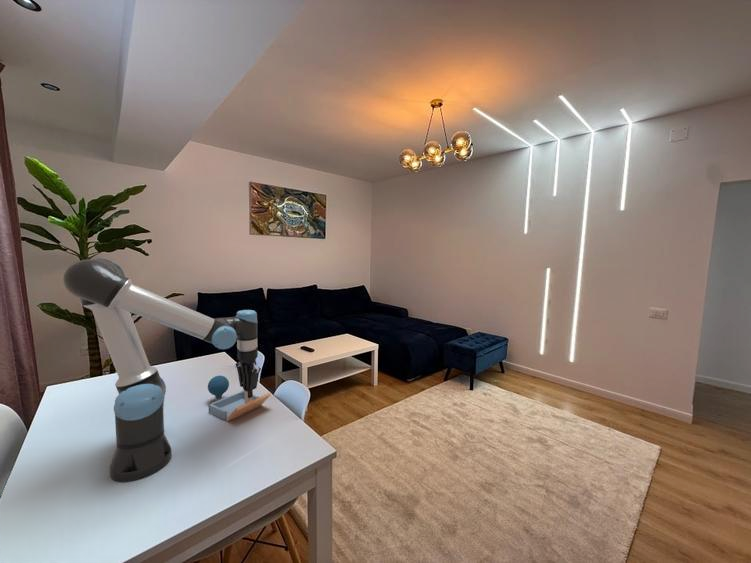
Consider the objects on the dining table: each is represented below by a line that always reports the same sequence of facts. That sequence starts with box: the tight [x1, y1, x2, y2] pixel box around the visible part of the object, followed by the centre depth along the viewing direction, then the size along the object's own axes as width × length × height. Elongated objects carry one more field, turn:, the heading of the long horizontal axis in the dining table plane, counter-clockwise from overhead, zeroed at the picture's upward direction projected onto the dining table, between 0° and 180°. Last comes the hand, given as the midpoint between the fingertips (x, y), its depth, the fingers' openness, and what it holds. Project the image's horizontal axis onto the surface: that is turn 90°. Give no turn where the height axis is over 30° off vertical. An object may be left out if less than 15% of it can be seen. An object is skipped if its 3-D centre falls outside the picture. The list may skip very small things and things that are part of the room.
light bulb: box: [207, 375, 230, 401], centre depth 134 cm, size 8×8×12 cm
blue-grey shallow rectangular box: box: [208, 390, 260, 422], centre depth 128 cm, size 16×11×4 cm
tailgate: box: [225, 392, 272, 422], centre depth 123 cm, size 16×1×10 cm
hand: (248, 404), depth 124 cm, fingers closed
